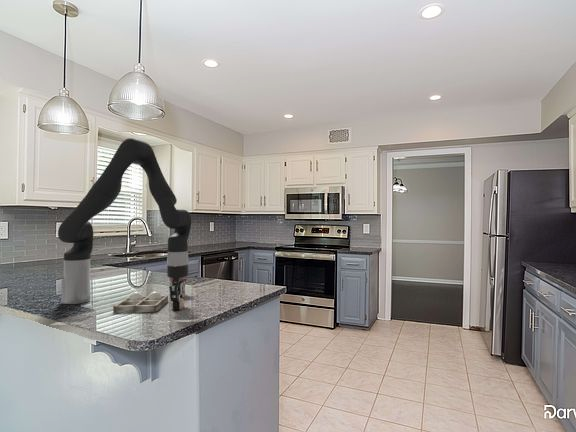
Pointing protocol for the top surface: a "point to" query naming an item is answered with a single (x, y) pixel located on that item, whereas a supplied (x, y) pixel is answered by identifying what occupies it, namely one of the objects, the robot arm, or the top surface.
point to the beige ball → (181, 304)
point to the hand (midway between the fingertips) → (177, 309)
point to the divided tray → (140, 305)
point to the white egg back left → (136, 296)
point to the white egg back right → (154, 296)
